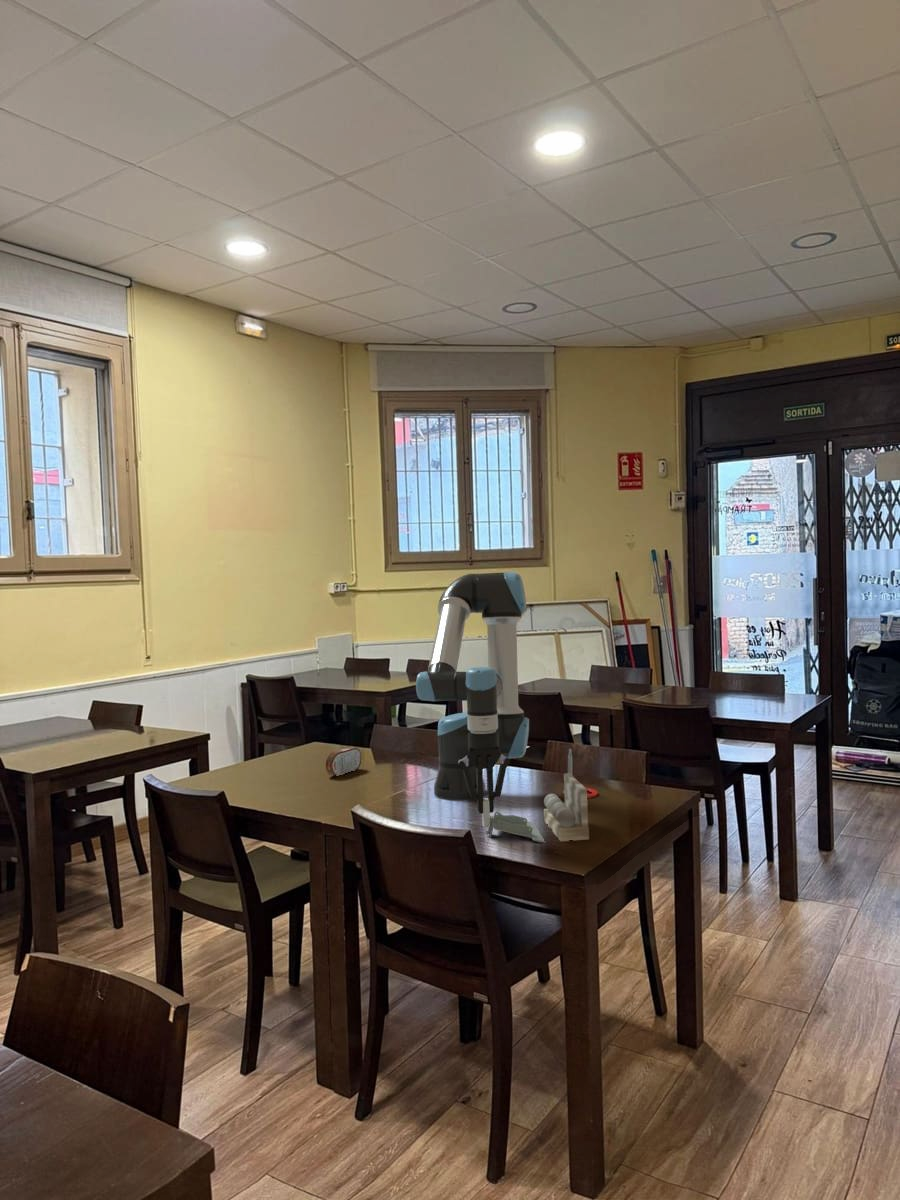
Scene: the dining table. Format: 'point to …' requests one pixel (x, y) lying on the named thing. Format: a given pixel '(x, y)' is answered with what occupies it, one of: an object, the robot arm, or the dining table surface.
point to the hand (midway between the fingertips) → (486, 825)
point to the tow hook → (572, 775)
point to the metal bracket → (514, 826)
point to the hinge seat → (568, 811)
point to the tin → (343, 760)
